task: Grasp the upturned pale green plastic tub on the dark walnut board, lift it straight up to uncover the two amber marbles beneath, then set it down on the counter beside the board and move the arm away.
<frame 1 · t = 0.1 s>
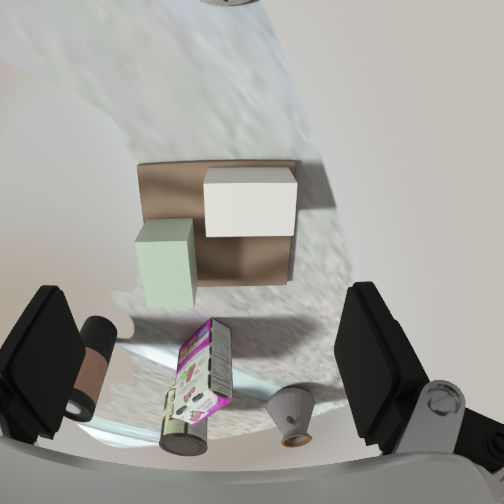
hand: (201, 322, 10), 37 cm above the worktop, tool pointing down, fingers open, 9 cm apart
coffee pot: (286, 384, 70), on the worktop
white block: (247, 191, 45), point 1 cm above the worktop, touching walnut board
green tub: (172, 251, 49), point 1 cm above the worktop, touching walnut board
walnut board: (217, 226, 49), on the worktop
candy bar box: (205, 338, 61), on the worktop
travel mug: (101, 328, 59), on the worktop
coffee can: (187, 395, 70), on the worktop
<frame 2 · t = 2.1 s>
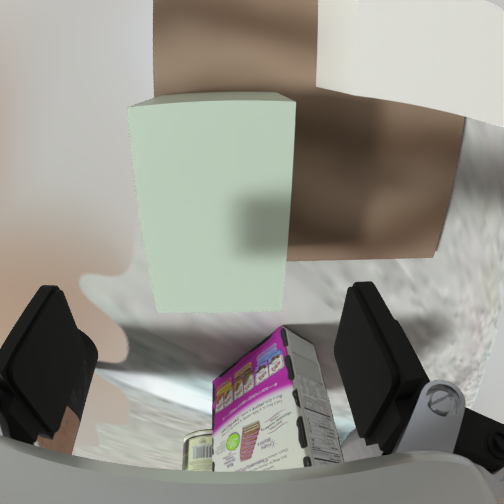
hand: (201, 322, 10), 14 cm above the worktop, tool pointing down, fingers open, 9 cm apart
coffee pot: (371, 417, 42), on the worktop
white block: (397, 48, 16), point 1 cm above the worktop, touching walnut board
green tub: (219, 175, 21), point 1 cm above the worktop, touching walnut board
walnut board: (324, 122, 20), on the worktop
candy bar box: (262, 362, 32), on the worktop
travel mug: (69, 343, 30), on the worktop
coffee can: (217, 442, 43), on the worktop
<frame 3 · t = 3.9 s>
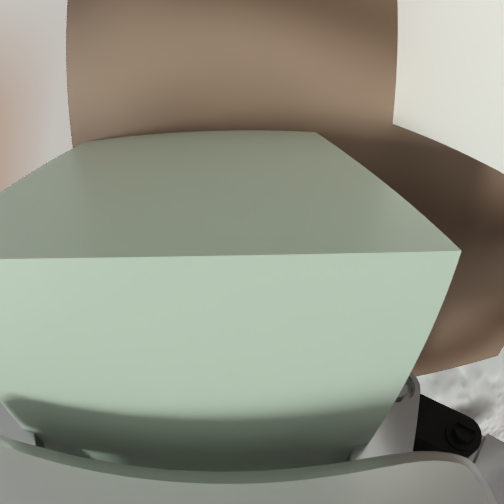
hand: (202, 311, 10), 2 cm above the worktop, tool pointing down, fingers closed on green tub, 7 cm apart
green tub: (205, 288, 12), point 1 cm above the worktop, touching gripper, walnut board
walnut board: (395, 188, 11), on the worktop
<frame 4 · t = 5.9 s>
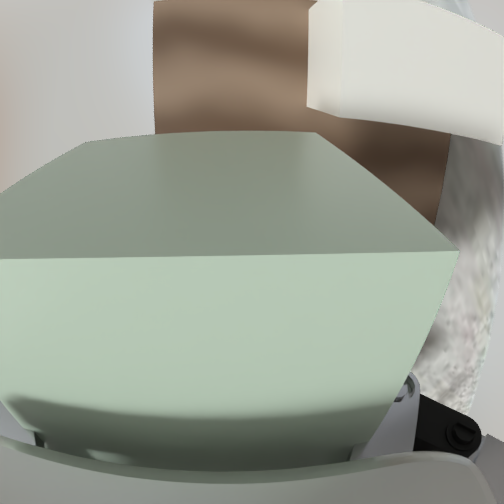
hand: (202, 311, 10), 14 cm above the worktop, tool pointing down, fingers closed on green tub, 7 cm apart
white block: (384, 67, 18), point 1 cm above the worktop, touching walnut board
green tub: (205, 288, 12), point 13 cm above the worktop, touching gripper
walnut board: (315, 140, 22), on the worktop
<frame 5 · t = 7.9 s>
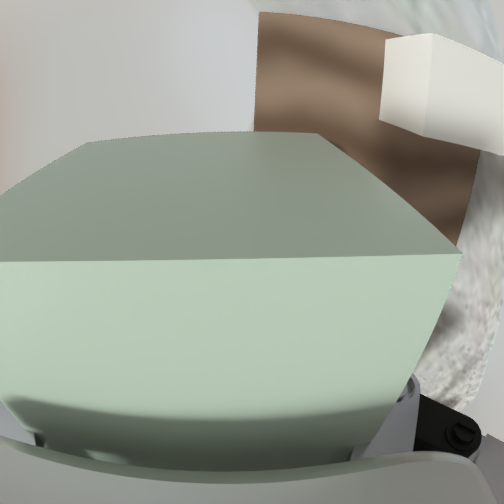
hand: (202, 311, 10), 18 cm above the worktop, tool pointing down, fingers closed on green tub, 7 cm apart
white block: (437, 92, 22), point 1 cm above the worktop, touching walnut board
green tub: (206, 289, 12), point 17 cm above the worktop, touching gripper
walnut board: (380, 147, 26), on the worktop
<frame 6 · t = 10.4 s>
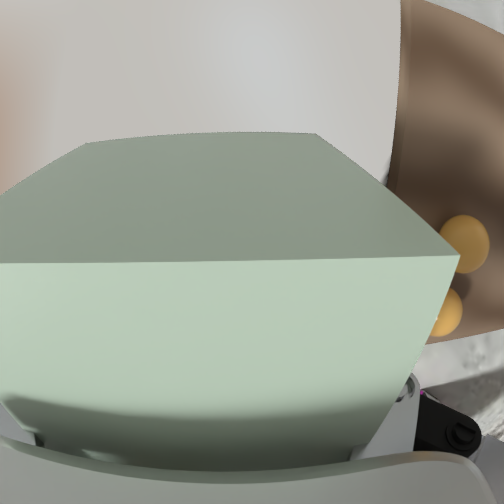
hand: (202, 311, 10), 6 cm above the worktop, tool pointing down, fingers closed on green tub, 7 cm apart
green tub: (205, 289, 12), point 5 cm above the worktop, touching gripper
marble 2: (438, 311, 16), point 2 cm above the worktop, touching walnut board
marble 1: (463, 244, 14), point 2 cm above the worktop, touching walnut board
when the fingers open (3 cm above the worktop, at t = 12.1 s): green tub drops 1 cm, on the worktop.
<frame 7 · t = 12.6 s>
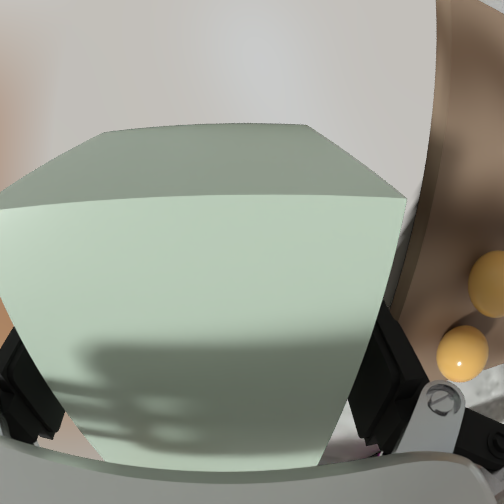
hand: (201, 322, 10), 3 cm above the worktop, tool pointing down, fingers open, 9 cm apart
green tub: (208, 265, 13), on the worktop
marble 2: (462, 353, 13), point 2 cm above the worktop, touching walnut board
marble 1: (497, 284, 11), point 2 cm above the worktop, touching walnut board
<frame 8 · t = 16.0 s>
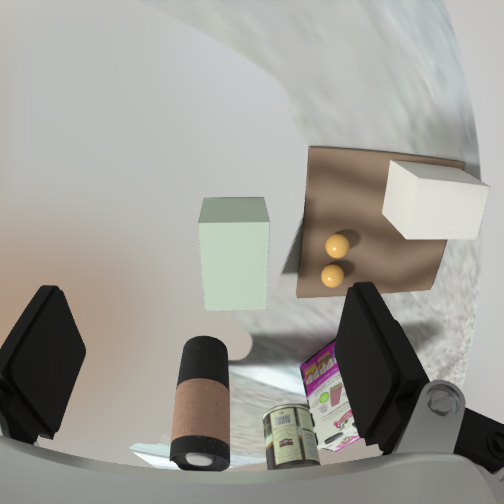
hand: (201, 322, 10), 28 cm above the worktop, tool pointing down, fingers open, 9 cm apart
white block: (422, 189, 37), point 1 cm above the worktop, touching walnut board
green tub: (234, 239, 41), on the worktop
marble 2: (332, 276, 41), point 2 cm above the worktop, touching walnut board
walnut board: (382, 227, 41), on the worktop
candy bar box: (331, 352, 53), on the worktop
travel mug: (205, 350, 50), on the worktop
coffee can: (286, 415, 62), on the worktop
marble 1: (337, 246, 39), point 2 cm above the worktop, touching walnut board
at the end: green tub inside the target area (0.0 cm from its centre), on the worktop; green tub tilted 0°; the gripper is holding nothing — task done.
